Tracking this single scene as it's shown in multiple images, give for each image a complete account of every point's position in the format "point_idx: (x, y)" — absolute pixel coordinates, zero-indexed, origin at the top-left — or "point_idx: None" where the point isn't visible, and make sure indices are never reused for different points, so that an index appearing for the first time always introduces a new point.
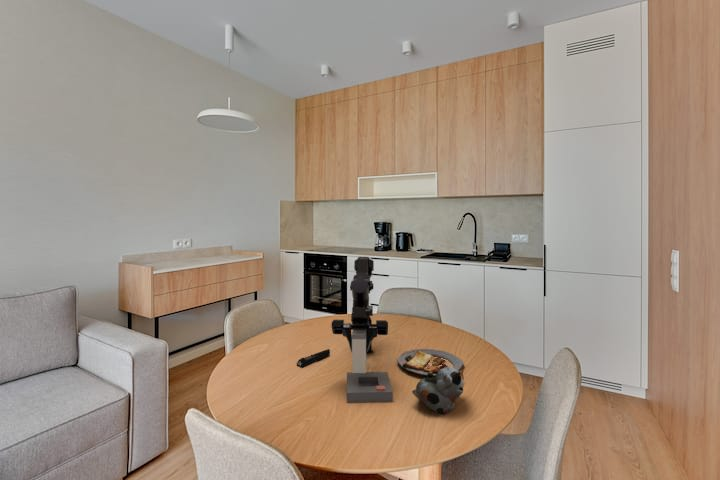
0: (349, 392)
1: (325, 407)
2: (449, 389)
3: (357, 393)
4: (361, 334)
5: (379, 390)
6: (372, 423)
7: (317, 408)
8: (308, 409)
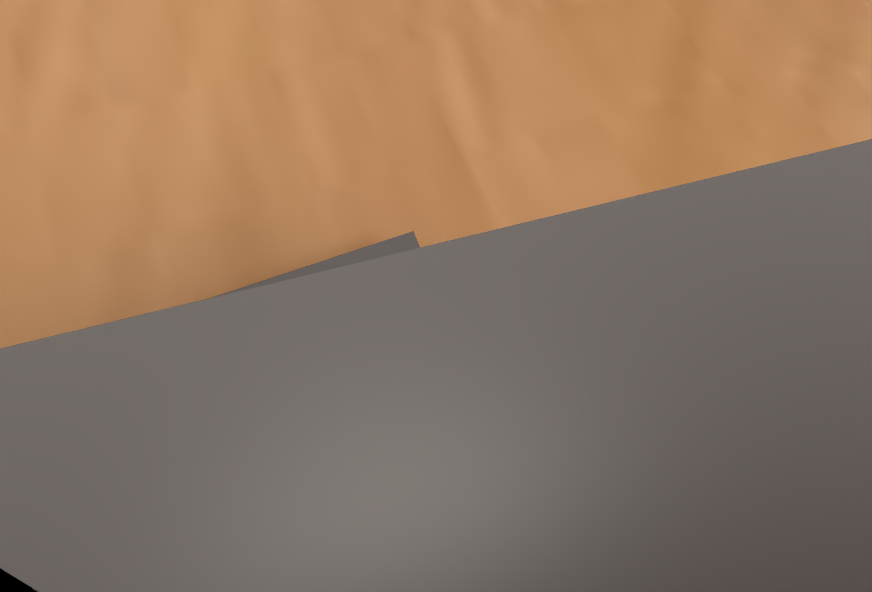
0: (385, 247)
1: (555, 131)
2: None
3: (288, 273)
4: (343, 335)
5: None
6: (38, 3)
7: (613, 100)
8: (674, 68)
